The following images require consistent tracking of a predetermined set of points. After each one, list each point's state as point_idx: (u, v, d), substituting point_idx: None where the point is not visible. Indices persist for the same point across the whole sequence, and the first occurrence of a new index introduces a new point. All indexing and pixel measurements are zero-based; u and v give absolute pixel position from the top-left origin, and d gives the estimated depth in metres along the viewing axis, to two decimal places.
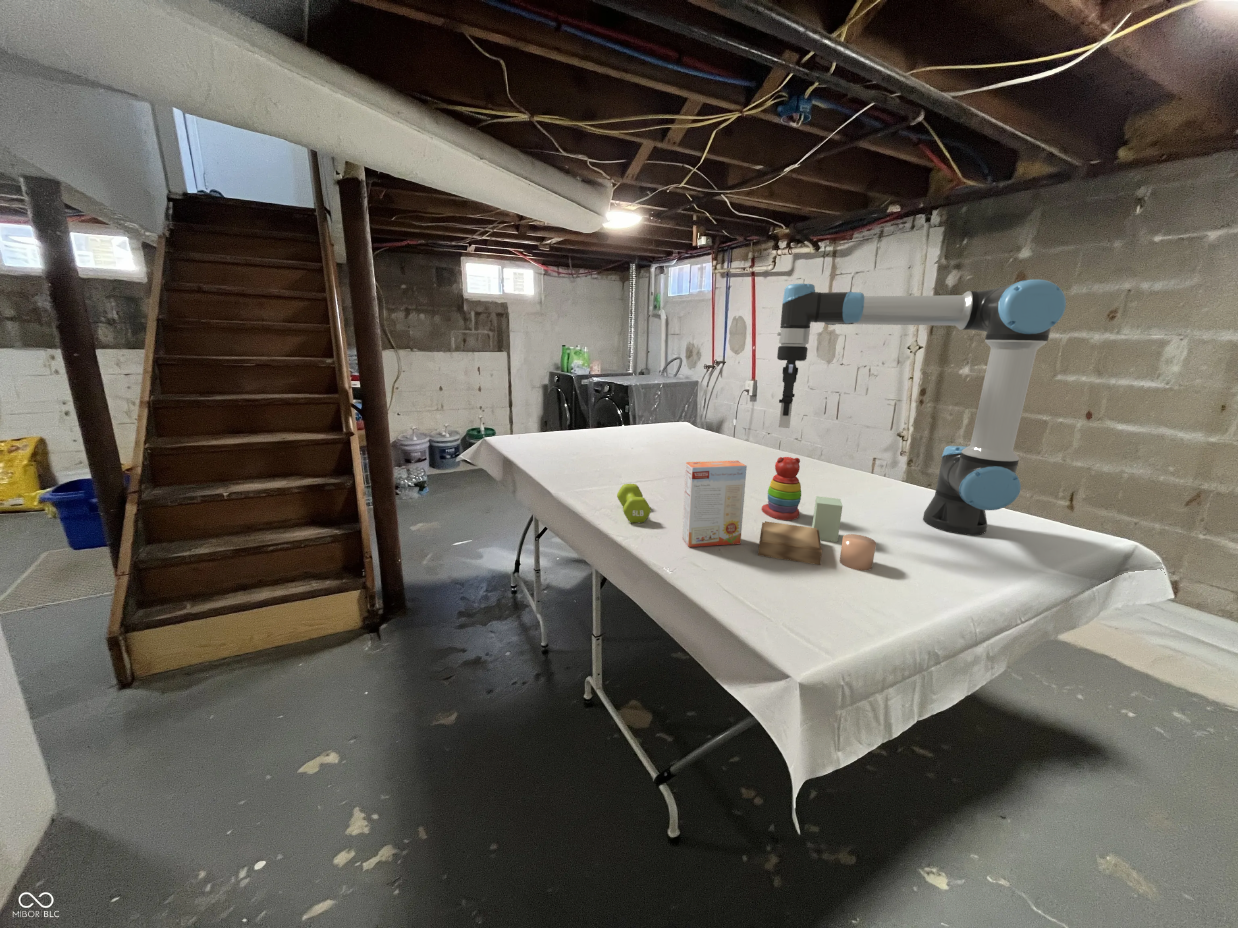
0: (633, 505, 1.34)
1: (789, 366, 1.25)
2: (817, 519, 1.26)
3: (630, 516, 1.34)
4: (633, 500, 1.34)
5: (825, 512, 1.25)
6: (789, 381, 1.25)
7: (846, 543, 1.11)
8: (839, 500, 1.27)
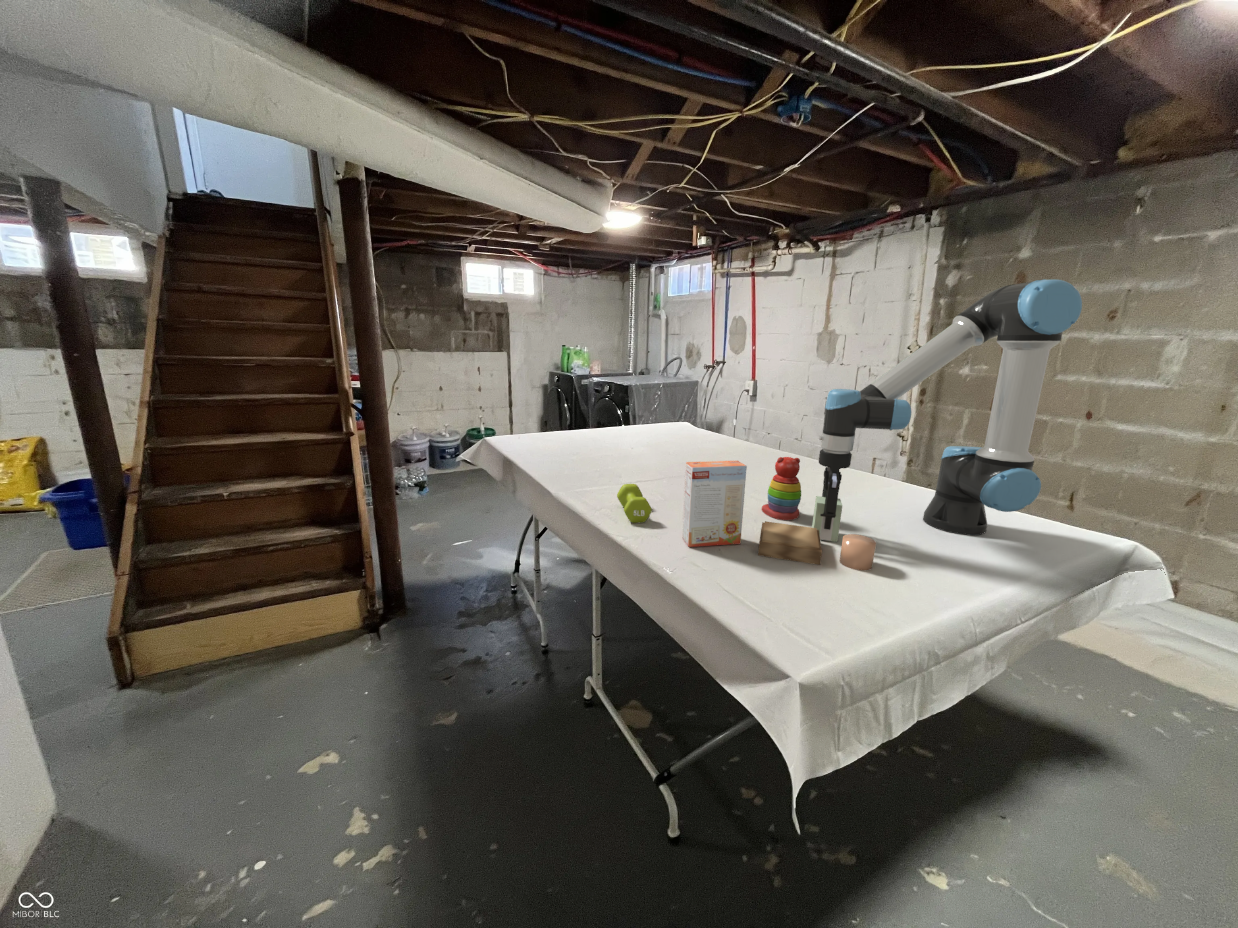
0: (634, 505, 1.34)
1: (833, 482, 1.19)
2: (817, 519, 1.26)
3: (631, 516, 1.34)
4: (634, 500, 1.34)
5: None
6: (832, 497, 1.20)
7: (847, 543, 1.11)
8: (839, 500, 1.27)
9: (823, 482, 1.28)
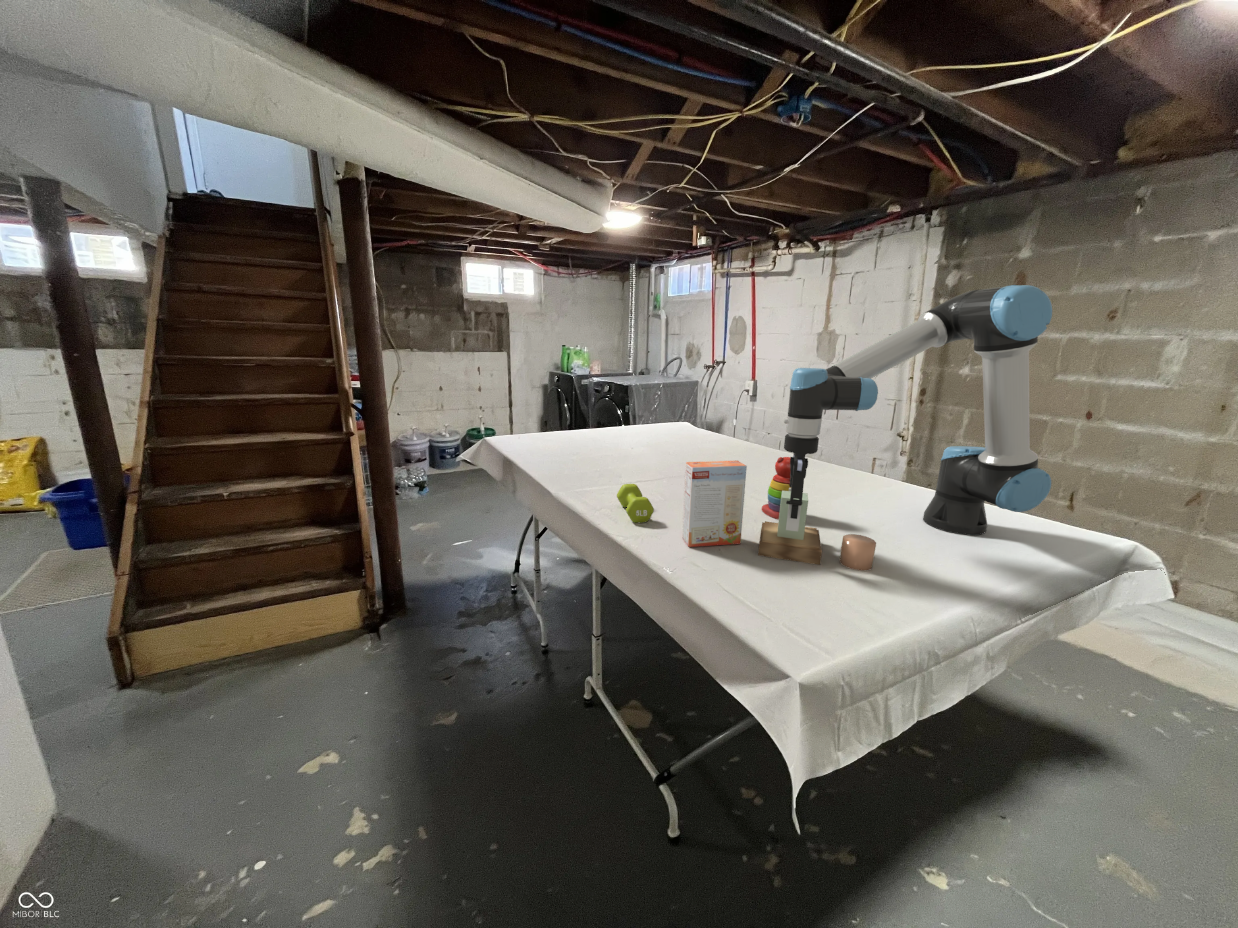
0: (636, 505, 1.34)
1: (798, 463, 1.09)
2: (781, 515, 1.17)
3: (633, 516, 1.34)
4: (636, 500, 1.34)
5: None
6: (798, 481, 1.09)
7: (847, 543, 1.11)
8: (806, 495, 1.18)
9: (790, 467, 1.19)
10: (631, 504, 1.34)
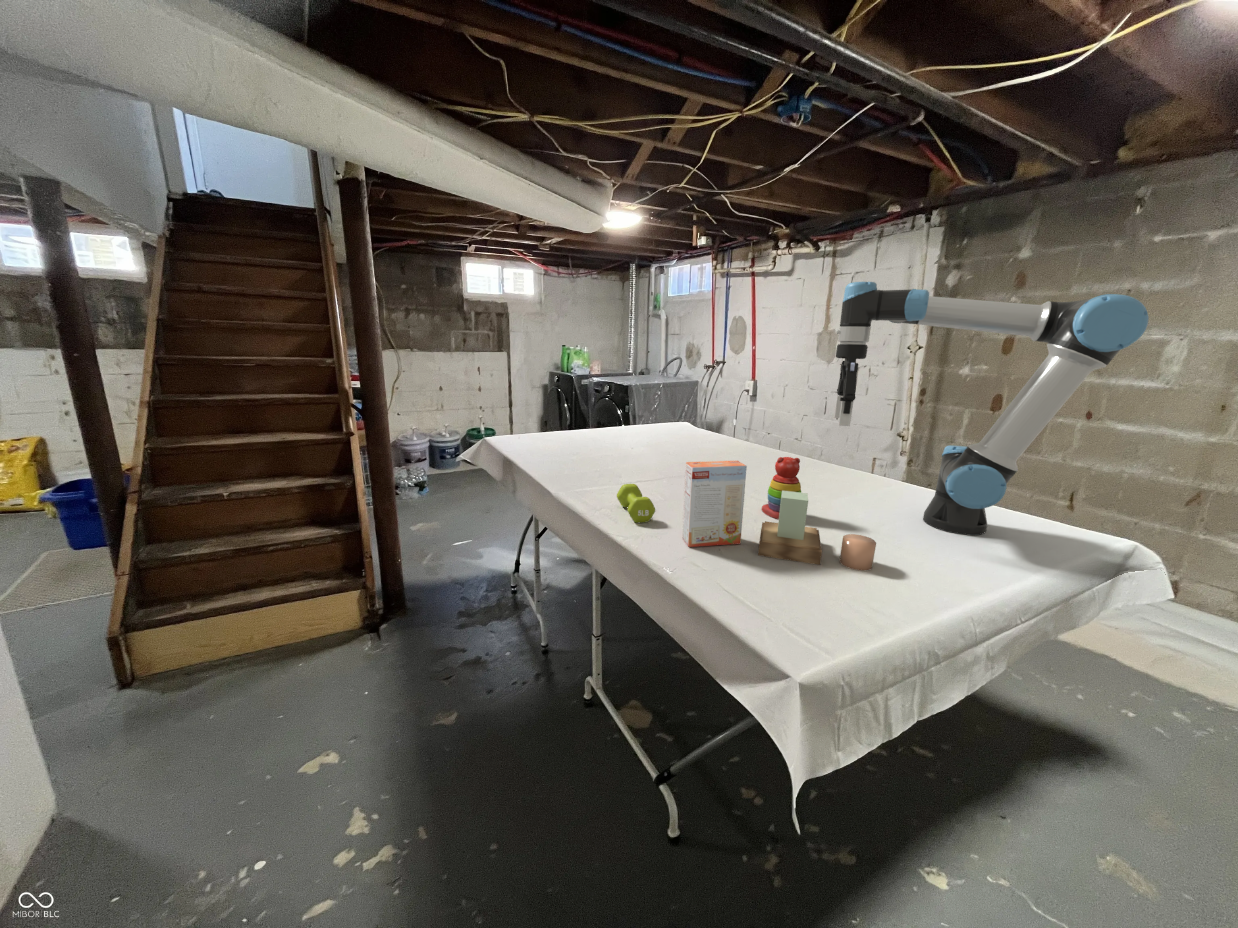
0: (638, 505, 1.34)
1: (851, 364, 1.25)
2: (781, 515, 1.17)
3: (635, 516, 1.34)
4: (638, 500, 1.34)
5: (790, 507, 1.16)
6: (851, 379, 1.25)
7: (847, 543, 1.11)
8: (806, 495, 1.18)
9: (840, 375, 1.36)
10: (633, 504, 1.34)
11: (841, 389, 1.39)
